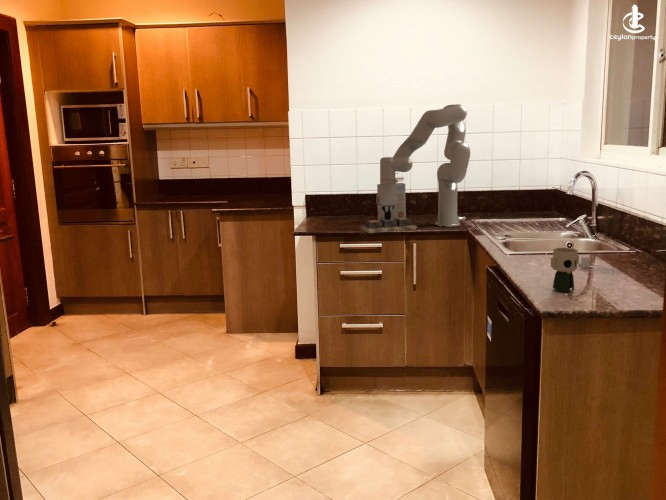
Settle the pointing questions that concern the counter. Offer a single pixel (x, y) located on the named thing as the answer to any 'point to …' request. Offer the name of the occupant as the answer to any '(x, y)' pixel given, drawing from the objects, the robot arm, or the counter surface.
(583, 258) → the teacup and saucer
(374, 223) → the button board
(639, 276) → the counter surface
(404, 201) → the cracker box
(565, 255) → the beige and green figure
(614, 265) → the counter surface
